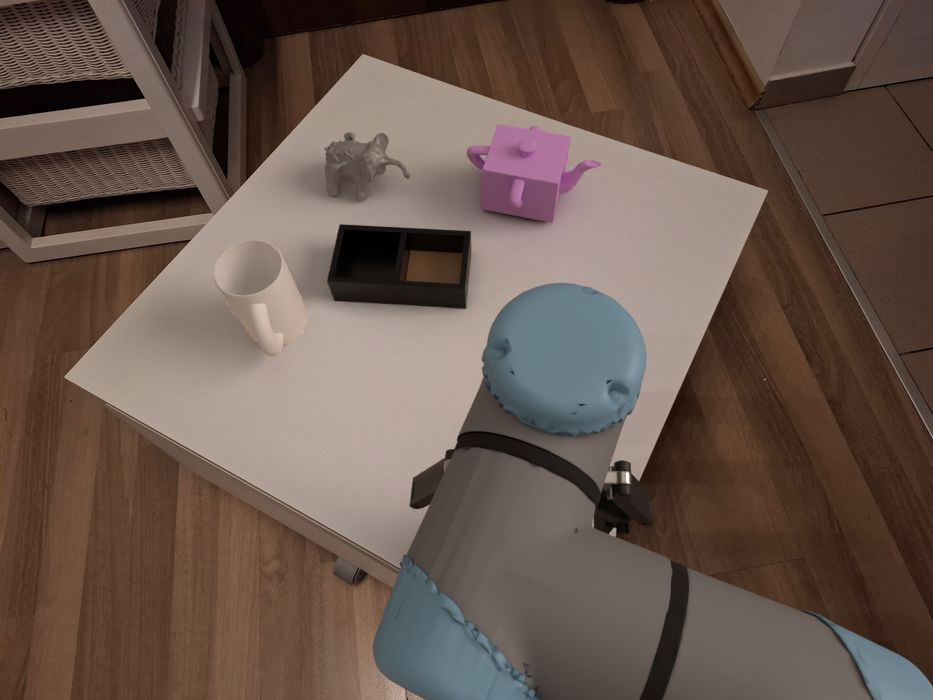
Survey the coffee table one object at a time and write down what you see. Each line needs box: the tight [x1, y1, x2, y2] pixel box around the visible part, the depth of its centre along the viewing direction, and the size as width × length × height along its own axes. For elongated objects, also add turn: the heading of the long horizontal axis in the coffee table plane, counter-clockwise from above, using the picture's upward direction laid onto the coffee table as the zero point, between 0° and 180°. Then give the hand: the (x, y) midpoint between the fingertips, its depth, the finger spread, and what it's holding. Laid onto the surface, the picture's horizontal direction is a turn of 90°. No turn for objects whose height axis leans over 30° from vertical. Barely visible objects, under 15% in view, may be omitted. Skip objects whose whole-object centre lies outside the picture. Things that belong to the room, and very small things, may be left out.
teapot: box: [466, 123, 602, 223], centre depth 88 cm, size 18×14×10 cm
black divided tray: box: [326, 223, 472, 310], centre depth 85 cm, size 9×17×5 cm, turn 85°
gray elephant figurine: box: [323, 131, 411, 201], centre depth 91 cm, size 9×12×8 cm
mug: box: [213, 239, 309, 357], centre depth 78 cm, size 8×12×12 cm
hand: (525, 522), depth 62 cm, fingers open, 13 cm apart
